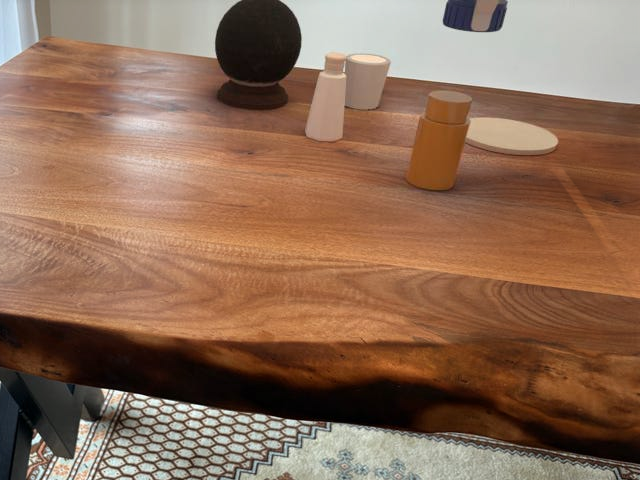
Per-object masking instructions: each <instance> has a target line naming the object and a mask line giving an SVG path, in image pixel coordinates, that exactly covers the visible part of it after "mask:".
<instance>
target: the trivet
mask: <svg viewBox="0 0 640 480" xmlns="http://www.w3.org/2000/svg"><path fill="white" fill-rule="evenodd" d="M469 119H470V121H471V123H470V126H469V130H468V134H467V138H466V141H465V144H468V145H470V146H473V147H475V148H478V149H481V150H485V151H489V152H494V153H498V154H504V155H512V156H540V155H541V156H542V155H546V154H550V153H552V152H554V151H555V150H556V149H557V147H558V144H559V139H558V137H557V136H556V135H555V134H554V133H553V132H551V131H548V130H547V129H545V128H542V127H540V126H538V125H534V124H531V123H528V122H523V121H519V120H514V119H508V118H501V117H472V118H471V117H470V118H469Z"/></svg>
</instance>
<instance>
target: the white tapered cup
mask: <svg viewBox="0 0 640 480" xmlns="http://www.w3.org/2000/svg"><path fill="white" fill-rule="evenodd" d="M345 56H346V57H347V58H346V60H345V66H344V74H345V75H346V92H345V106H344V107H348V108H350V109H355V110H362V111H363V110H365V111H366V110H368V109H369V110H375V109H377V108H378V107H379V105H380V101H381V97H382V94H383V91H384V87H385V84H386V80H387V77H388V74H389V70H390V67H391V64H392V63H391V62H392V61H391V59H390V58H388V57H386V56H382V55H380V54H374V53H373V54H372V53H351V54H348V55H345ZM376 107H377V108H376Z"/></svg>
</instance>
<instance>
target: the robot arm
mask: <svg viewBox="0 0 640 480" xmlns="http://www.w3.org/2000/svg"><path fill="white" fill-rule="evenodd" d="M498 2H499V0H477V1H476V5H475V9H474V10H473V11H472V15H471V20H470V23H469V25H470V27H471V28H472V29H473V30H474V31H486V30H488V28H489V25H490V21H491V17H492V14H493V12H494V10H495V8H496V6H497V4H498Z"/></svg>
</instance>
